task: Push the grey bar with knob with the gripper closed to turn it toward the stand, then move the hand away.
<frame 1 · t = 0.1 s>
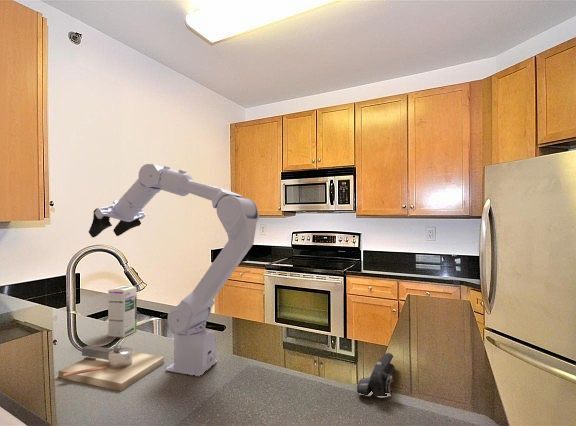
hand: (104, 234, 83), 32 cm above the counter, tool tilted 50°, fingers open, 7 cm apart
stand: (113, 369, 72), on the counter
syrup box: (122, 334, 95), on the counter
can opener: (381, 385, 67), on the counter
grey bar with knob: (106, 353, 73), point 4 cm above the counter, hinge at 0.0°
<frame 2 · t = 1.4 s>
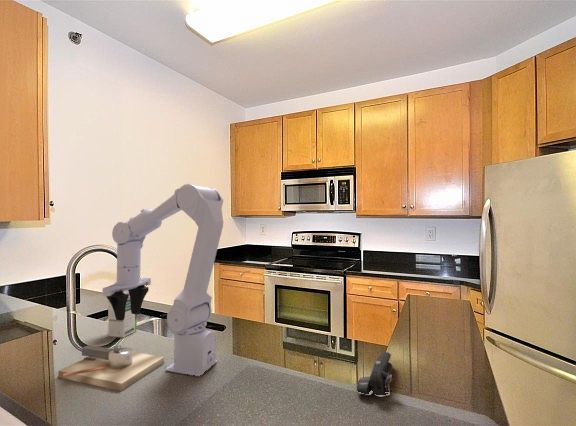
hand: (127, 316, 82), 9 cm above the counter, tool pointing down, fingers open, 5 cm apart
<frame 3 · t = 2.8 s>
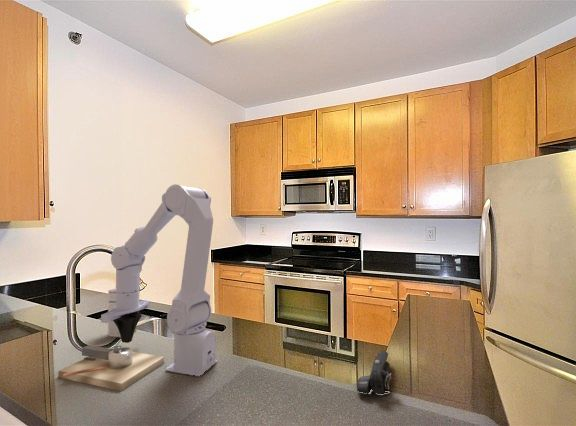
hand: (126, 341, 82), 3 cm above the counter, tool pointing down, fingers closed
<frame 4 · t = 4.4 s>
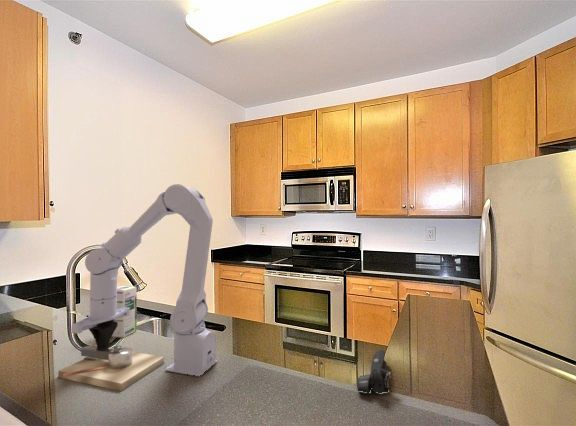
hand: (102, 352, 75), 3 cm above the counter, tool pointing down, fingers closed, pressing on grey bar with knob
grey bar with knob: (106, 353, 73), point 4 cm above the counter, hinge at 1.2°, touching gripper
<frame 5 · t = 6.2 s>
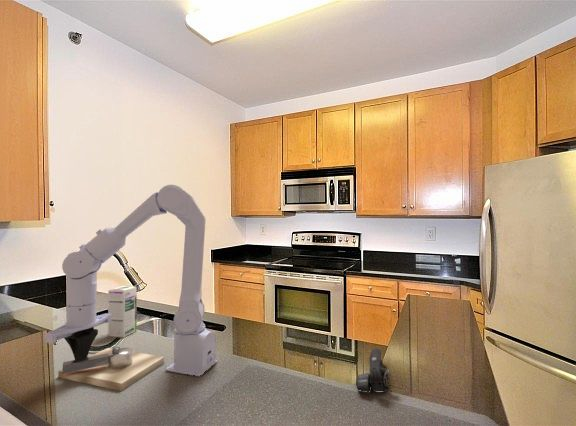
hand: (80, 363, 69), 3 cm above the counter, tool pointing down, fingers closed
grey bar with knob: (99, 360, 69), point 4 cm above the counter, hinge at 49.5°, touching gripper
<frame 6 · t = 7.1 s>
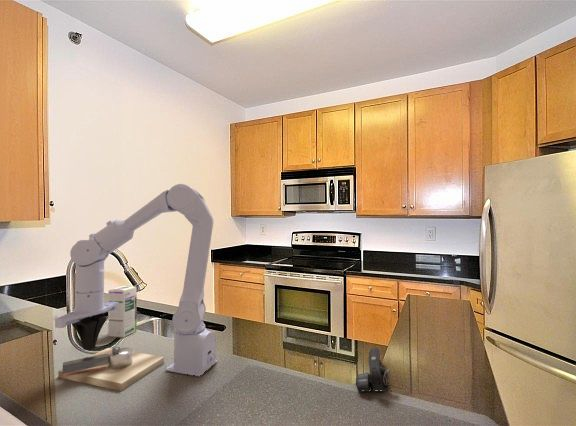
hand: (89, 348, 71), 5 cm above the counter, tool pointing down, fingers closed
grey bar with knob: (99, 360, 69), point 4 cm above the counter, hinge at 49.8°
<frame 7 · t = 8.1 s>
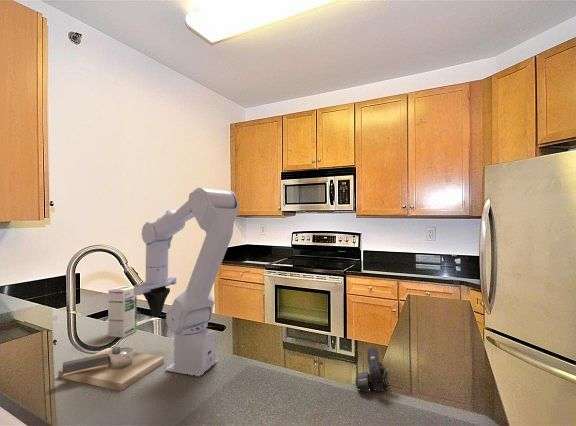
hand: (156, 315, 83), 9 cm above the counter, tool pointing down, fingers closed
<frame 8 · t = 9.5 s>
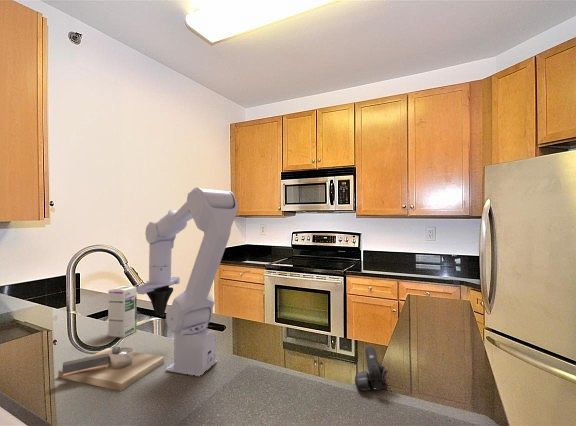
hand: (159, 314, 84), 9 cm above the counter, tool pointing down, fingers closed
at the end: grey bar with knob at +50° (first picture: +0°); syrup box moved 0.2 cm from its start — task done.
